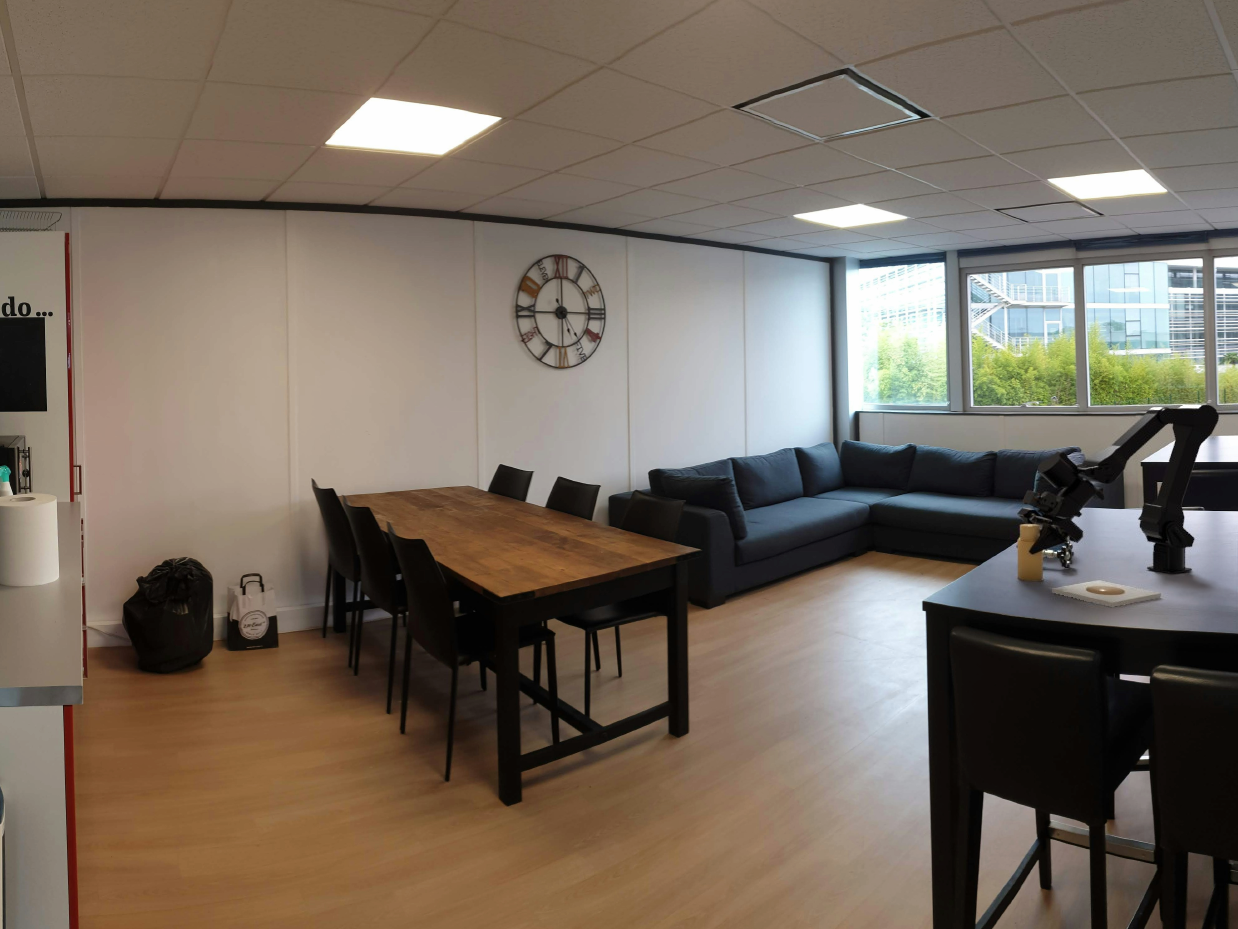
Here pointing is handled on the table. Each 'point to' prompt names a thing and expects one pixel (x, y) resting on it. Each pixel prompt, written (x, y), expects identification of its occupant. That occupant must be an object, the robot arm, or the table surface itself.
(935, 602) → the table surface
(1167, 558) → the robot arm
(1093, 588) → the plate
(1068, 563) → the valve
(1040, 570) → the stepped tan cylinder
